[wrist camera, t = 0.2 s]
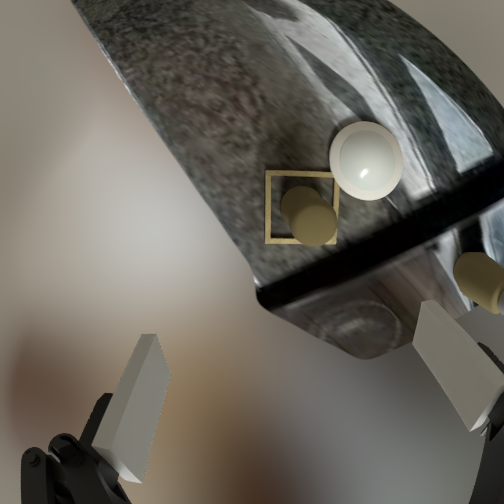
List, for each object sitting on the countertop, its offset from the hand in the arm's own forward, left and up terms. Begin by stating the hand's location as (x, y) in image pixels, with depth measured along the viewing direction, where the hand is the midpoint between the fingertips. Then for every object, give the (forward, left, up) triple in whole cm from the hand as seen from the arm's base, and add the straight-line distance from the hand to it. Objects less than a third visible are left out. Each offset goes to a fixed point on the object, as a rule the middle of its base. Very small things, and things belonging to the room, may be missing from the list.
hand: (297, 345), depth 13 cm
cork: (-2, +4, -28) cm, 28 cm away
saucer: (-9, +13, -28) cm, 32 cm away
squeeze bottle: (+7, +35, -28) cm, 45 cm away
